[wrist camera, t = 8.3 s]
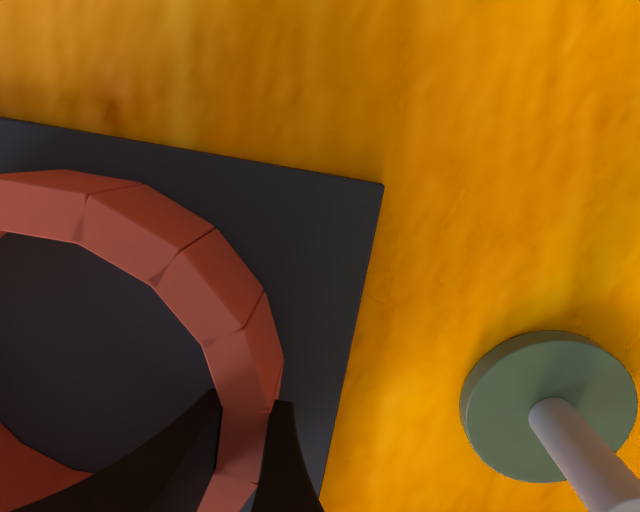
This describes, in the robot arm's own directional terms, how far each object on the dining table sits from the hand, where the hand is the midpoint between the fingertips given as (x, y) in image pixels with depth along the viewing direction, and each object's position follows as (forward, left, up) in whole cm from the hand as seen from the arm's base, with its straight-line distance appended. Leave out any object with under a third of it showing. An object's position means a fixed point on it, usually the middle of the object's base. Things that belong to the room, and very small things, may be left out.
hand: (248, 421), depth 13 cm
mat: (0, +6, -2) cm, 6 cm away
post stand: (+1, -10, -2) cm, 11 cm away
